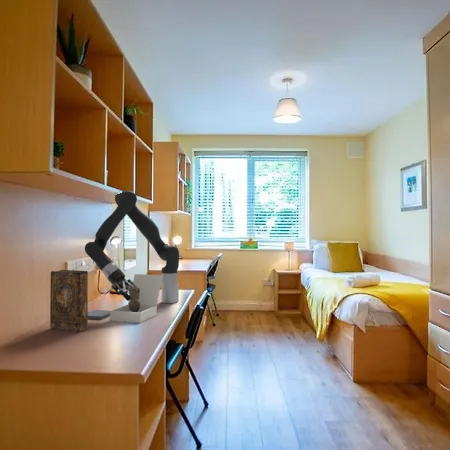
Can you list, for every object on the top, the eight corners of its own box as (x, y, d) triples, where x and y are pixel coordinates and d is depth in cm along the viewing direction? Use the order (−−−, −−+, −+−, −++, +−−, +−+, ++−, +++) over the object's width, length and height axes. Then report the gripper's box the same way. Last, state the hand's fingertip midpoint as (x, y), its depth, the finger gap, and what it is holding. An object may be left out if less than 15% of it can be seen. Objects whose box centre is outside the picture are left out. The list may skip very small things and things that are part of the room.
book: (89, 329, 155) (89, 271, 156) (80, 332, 150) (80, 272, 151) (60, 325, 161) (60, 269, 161) (50, 328, 156) (50, 271, 156)
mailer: (135, 309, 192) (135, 274, 193) (162, 311, 188) (162, 275, 188) (110, 320, 170) (110, 279, 171) (140, 322, 166) (140, 281, 166)
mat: (94, 312, 186) (94, 309, 186) (115, 314, 183) (115, 311, 183) (79, 318, 175) (79, 314, 175) (101, 319, 172) (101, 316, 172)
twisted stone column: (129, 319, 172) (129, 287, 172) (127, 316, 177) (127, 286, 177) (140, 318, 174) (140, 287, 175) (138, 315, 179) (138, 285, 180)
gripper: (109, 270, 172) (131, 295, 168) (125, 267, 185) (146, 290, 182) (100, 280, 173) (121, 306, 170) (116, 277, 187) (136, 300, 183)
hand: (134, 297), depth 176 cm, fingers open, 8 cm apart
